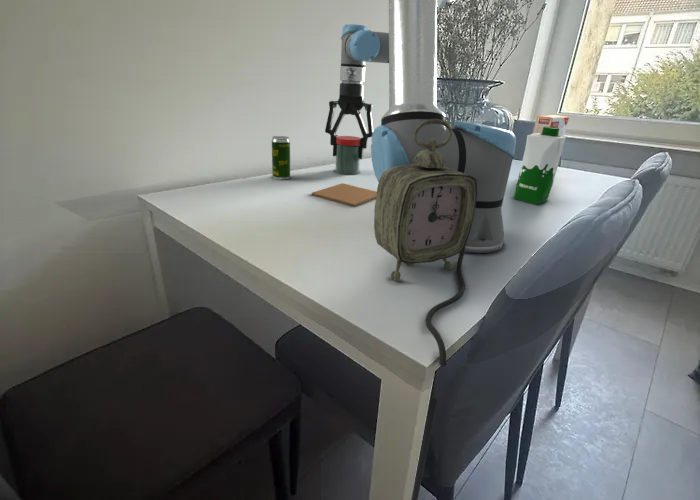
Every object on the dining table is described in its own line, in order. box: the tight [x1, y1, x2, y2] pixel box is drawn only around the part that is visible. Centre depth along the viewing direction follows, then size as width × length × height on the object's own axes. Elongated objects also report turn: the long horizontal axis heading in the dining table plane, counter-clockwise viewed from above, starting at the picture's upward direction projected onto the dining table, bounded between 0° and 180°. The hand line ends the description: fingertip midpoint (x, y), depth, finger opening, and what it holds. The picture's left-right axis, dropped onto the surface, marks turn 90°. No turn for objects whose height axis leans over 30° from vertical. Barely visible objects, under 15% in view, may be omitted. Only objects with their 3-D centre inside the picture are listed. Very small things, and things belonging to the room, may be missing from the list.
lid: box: [336, 135, 362, 146], centre depth 127 cm, size 8×8×2 cm
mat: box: [311, 182, 377, 207], centre depth 106 cm, size 14×14×1 cm
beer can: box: [271, 135, 291, 181], centre depth 117 cm, size 5×5×12 cm
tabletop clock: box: [373, 119, 477, 282], centre depth 63 cm, size 14×9×25 cm, turn 115°
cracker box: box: [532, 114, 570, 137], centre depth 137 cm, size 14×6×21 cm, turn 132°
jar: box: [334, 144, 361, 176], centre depth 129 cm, size 8×8×10 cm
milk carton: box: [513, 127, 567, 206], centre depth 109 cm, size 9×9×20 cm
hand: (348, 156), depth 129 cm, fingers closed on lid, 8 cm apart
